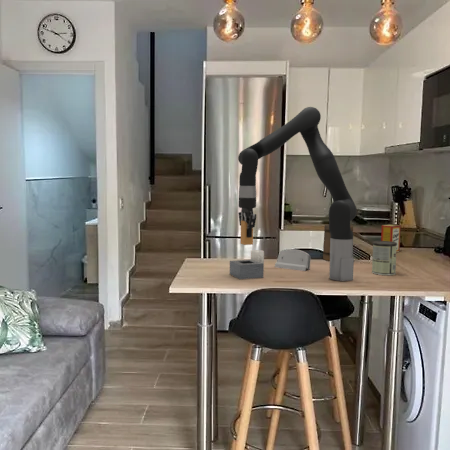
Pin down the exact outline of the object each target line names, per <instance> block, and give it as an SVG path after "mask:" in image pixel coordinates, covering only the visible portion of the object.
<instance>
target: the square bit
mask: <svg viewBox="0 0 450 450" xmlns="http://www.w3.org/2000/svg"><path fill="white" fill-rule="evenodd" d="M248 225H249V223H248ZM240 245H244V246H251V245H254V227H253V228H252V237H249V238H248V237H247V227H246V223H245V221H241V226H240Z"/></svg>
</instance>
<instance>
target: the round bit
mask: <svg viewBox="0 0 450 450" xmlns="http://www.w3.org/2000/svg"><path fill="white" fill-rule="evenodd" d="M250 260H255V261H258V262H261V263H263V264H264V265H265V263H264V262H265V251H264V250H261V249H251V250H250Z"/></svg>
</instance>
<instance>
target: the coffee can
mask: <svg viewBox="0 0 450 450" xmlns="http://www.w3.org/2000/svg"><path fill="white" fill-rule="evenodd" d="M396 248H397V243H396V242H391V241H381V240H375V241H372V259H371V260H372V261H371V262H372V264H371V265H372V267H371V268H372V269H371V273H372V274H373V273H374V274H373V275H377V274H378V275H379V276H395V275H397V274H396V273H397V271H396V270H397V252H396Z"/></svg>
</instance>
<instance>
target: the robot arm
mask: <svg viewBox="0 0 450 450" xmlns="http://www.w3.org/2000/svg"><path fill="white" fill-rule="evenodd" d="M321 117H322V116H321V112H320V111H319V109H317V107H314V106H307V107H305V108H303V109H302V110H301V111H300V112H299V113H298V114H297V115H295V116H294V117H293V118H292V119H290V120H289V121H288V122H286V123H285V124H284V125H282V126H281V127H279V128H277V129H276V130H275V131H273V132H271V133H270V134H268V135H266V136H264V137H263V138H261V139H260V140H259V141H257V142H256V143H254V144H252V145H250V146H247V147H246V148H244V149H243V150H242V151H240V152H239V154H238V156H237V159H238V162H239V164H240V165H241V172H240V174H239V182H238V183H239V186H238V187H239V188H238V208H239V209H241V211H238V221H239V226H240V227H241V221H245V223H246V227H247V237H248V238H249V237H252V228H253V229H254V228H255V226H256V221H257V214H256V213H254V209H256V208H257V171H258V165H259V160H260V159H262V158H264V157H266V156H268V155H270V154H272V153H273V152H275V151H277V150H278V149H280V148H281V147H283V146H284V145H285V144H286V143H287V142H289V140H290V139H292V138H293V137H294V136H296V135H297V134H298V133H300V135H301V137H302V138H303V141H304V142H305V145H306V147H307V148H306V149H307V150H308V153H309V156H310V158H311V161H312V165H313V167H314V169H315V172H316V174H317V176H318V178H319V179H320V181H321V182H322V184H323V185H324V186H325V188H326V189H327V190H328V192H329V194H330V196H331V197H332V200H333V202H332V204H331V205H330V207H329V210H328V224H329V231H330V234H331V240H330V261H329V279H330V280H332V281H339V282H348V281H349V282H350V281H354V265H355V264H354V261H355V259H354V256H353V255H354V253H353V250H354V231H353V232H352V231H351V228H350V225H351V222H352V221H353V220H354V219H355V217H357V206H356V204H355V202H354V200H353V198H352V196H351V194H350V193H349V191H348V188H347V186H346V184H345V182H344V179H343V175H342V173H341V171H340V168H339V165H338V162H337V159H336V158H335V155H334V153H333V152H332V150H331V149H330V148H329V147H328V145H326V143H325V142H324V140H323V139H322V137H321V133H320V131H319V124H320V121H321ZM248 223H249V225H248Z"/></svg>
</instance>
